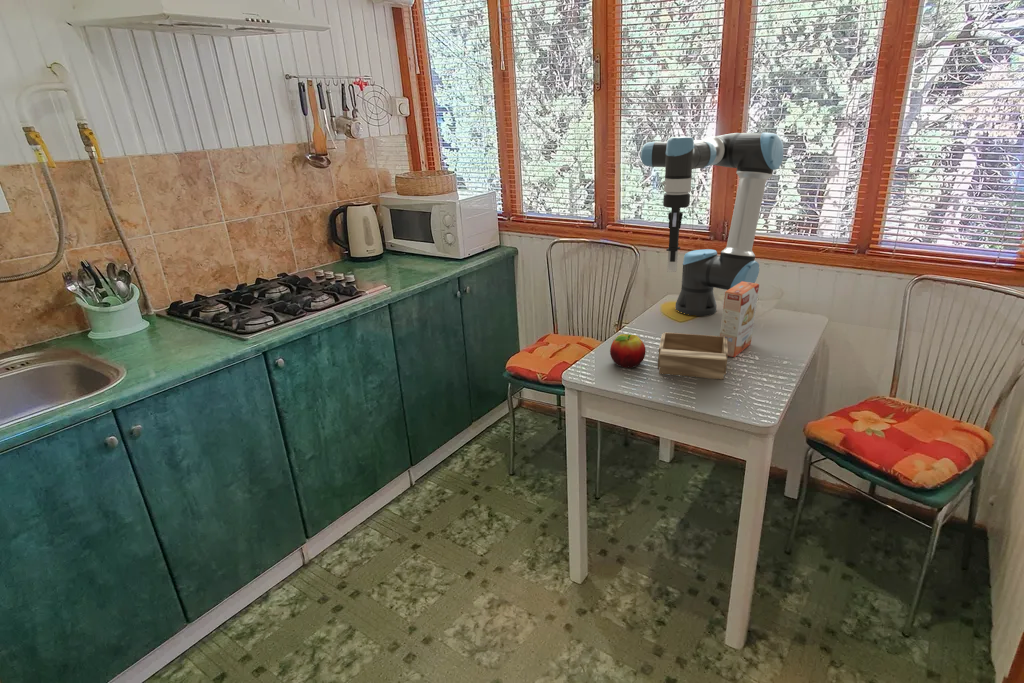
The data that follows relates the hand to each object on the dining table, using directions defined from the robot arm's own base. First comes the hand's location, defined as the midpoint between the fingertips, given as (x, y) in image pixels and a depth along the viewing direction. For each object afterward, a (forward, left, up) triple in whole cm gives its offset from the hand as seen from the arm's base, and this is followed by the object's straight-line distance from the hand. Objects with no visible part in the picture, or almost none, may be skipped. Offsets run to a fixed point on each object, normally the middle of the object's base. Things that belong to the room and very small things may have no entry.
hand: (671, 271), depth 175 cm
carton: (+12, +8, -26) cm, 30 cm away
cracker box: (-5, +21, -27) cm, 34 cm away
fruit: (+14, -11, -27) cm, 32 cm away
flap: (+23, +8, -17) cm, 30 cm away
